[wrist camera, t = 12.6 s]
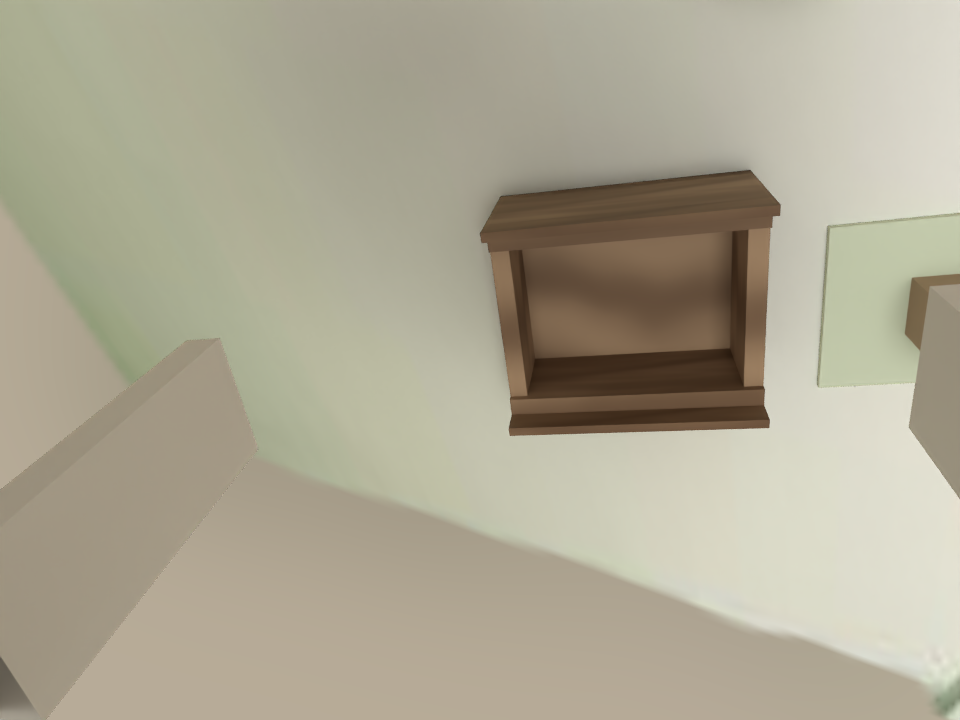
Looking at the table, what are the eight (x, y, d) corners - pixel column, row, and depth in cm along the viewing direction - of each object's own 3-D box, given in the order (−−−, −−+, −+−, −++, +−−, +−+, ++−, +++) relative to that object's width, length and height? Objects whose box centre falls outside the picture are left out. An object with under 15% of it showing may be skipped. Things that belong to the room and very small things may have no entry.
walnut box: (500, 196, 40) (480, 233, 34) (750, 170, 38) (780, 204, 31) (523, 374, 46) (509, 435, 39) (744, 363, 43) (769, 427, 36)
